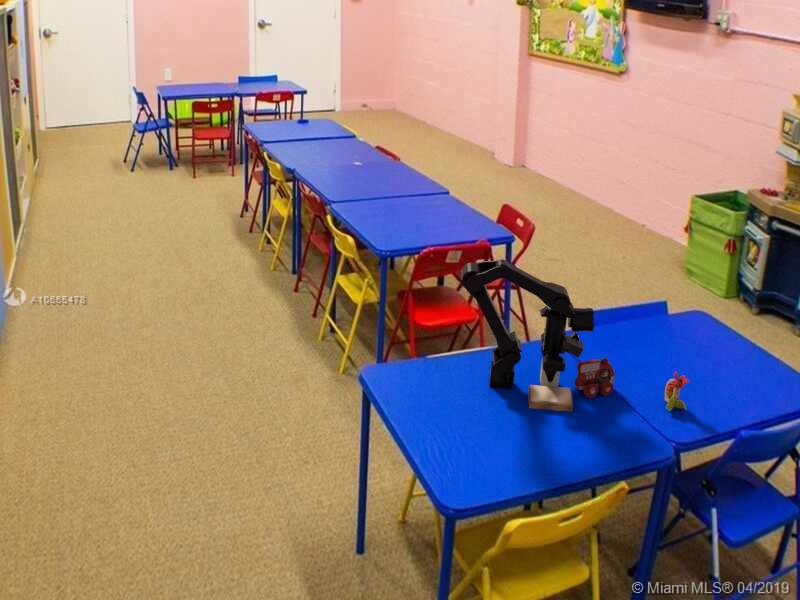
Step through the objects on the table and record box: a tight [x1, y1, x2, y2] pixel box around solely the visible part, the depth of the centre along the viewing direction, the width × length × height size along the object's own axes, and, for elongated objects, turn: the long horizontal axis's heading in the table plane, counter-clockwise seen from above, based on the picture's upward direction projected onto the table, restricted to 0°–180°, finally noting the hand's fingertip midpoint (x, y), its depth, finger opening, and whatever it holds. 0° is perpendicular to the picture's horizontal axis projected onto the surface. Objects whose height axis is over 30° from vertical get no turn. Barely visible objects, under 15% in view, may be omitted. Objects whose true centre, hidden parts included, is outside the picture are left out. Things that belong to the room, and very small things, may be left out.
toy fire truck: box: [573, 357, 616, 399], centre depth 243 cm, size 7×12×10 cm, turn 110°
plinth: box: [527, 384, 574, 413], centre depth 239 cm, size 12×9×2 cm
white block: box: [539, 358, 561, 387], centre depth 246 cm, size 5×5×6 cm
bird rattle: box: [664, 371, 691, 412], centre depth 237 cm, size 6×11×9 cm
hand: (549, 377), depth 246 cm, fingers closed on white block, 5 cm apart
